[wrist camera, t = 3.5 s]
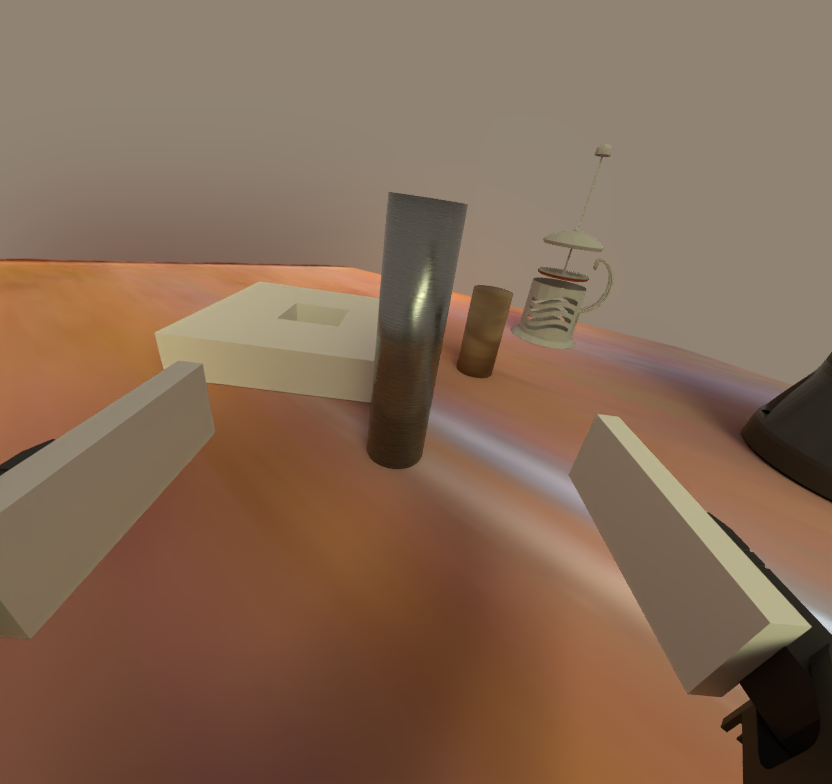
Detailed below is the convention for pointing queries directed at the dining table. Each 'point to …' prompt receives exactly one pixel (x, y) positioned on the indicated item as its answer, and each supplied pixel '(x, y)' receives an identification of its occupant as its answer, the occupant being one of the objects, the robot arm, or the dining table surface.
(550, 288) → the french press
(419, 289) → the metal pin
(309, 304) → the hole plate
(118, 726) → the dining table surface
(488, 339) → the walnut pin
